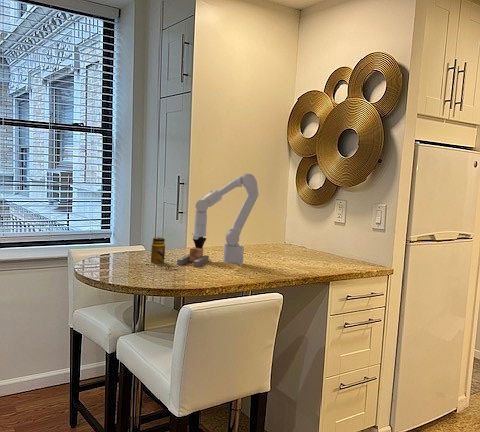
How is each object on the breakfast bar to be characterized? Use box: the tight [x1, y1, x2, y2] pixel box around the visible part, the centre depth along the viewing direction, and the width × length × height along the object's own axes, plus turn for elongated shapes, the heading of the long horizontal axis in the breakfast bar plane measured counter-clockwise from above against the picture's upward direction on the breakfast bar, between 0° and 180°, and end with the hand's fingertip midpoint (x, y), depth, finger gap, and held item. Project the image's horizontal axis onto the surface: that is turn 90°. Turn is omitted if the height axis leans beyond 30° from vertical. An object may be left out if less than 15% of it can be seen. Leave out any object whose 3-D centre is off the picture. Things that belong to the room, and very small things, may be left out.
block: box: [189, 246, 204, 263], centre depth 228 cm, size 5×5×6 cm
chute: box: [176, 253, 210, 268], centre depth 224 cm, size 10×18×3 cm, turn 168°
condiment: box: [145, 237, 166, 267], centre depth 218 cm, size 7×8×12 cm
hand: (198, 252), depth 232 cm, fingers closed
